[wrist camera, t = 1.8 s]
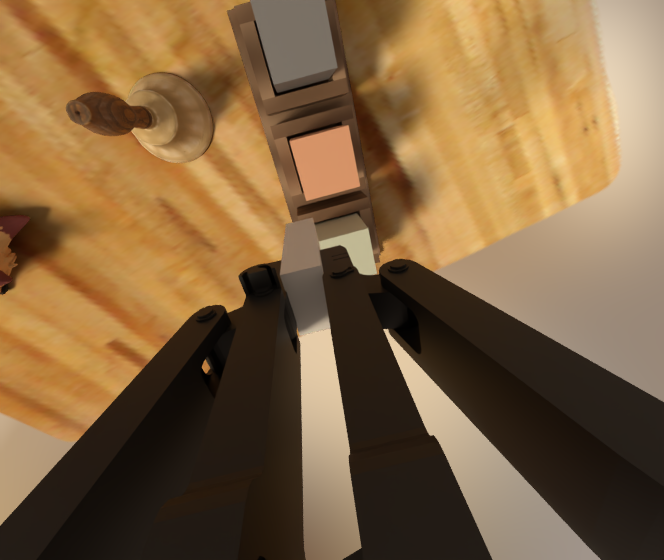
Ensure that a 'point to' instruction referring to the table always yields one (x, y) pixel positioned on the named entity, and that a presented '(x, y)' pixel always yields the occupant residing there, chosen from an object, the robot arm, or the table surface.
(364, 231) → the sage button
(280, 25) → the grey square block
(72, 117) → the hand bell
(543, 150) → the table surface
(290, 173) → the wooden base
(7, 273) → the figurine
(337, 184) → the terracotta button
